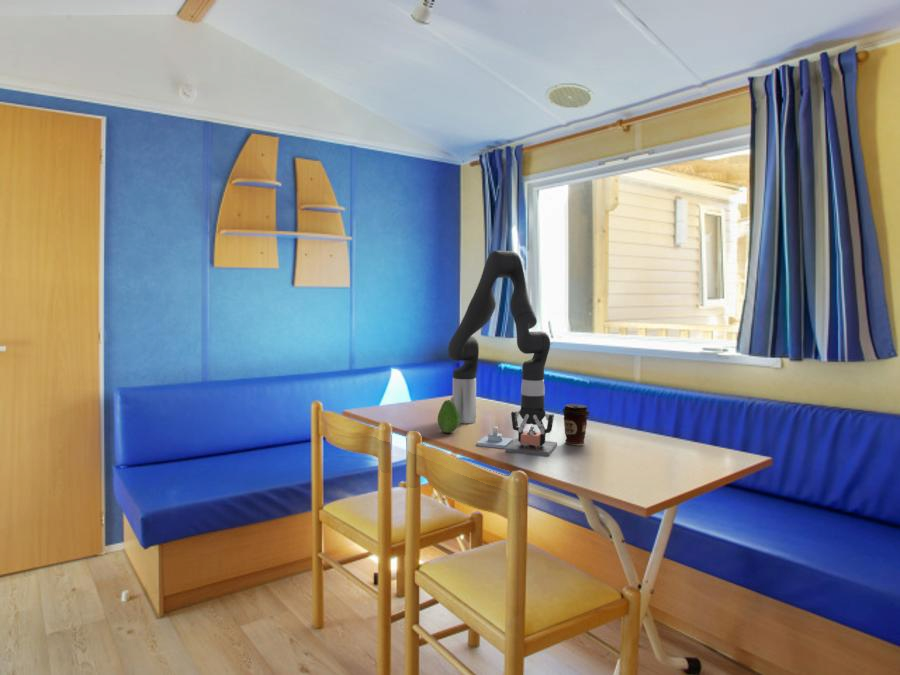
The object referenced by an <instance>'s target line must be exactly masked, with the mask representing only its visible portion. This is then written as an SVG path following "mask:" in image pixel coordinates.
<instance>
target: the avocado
mask: <svg viewBox="0 0 900 675" xmlns="http://www.w3.org/2000/svg"><path fill="white" fill-rule="evenodd" d="M459 422H460V416H459V413H458V410H457V408H456V406H455V404H454V403H453V402H452V401H451V399H446V400H444V402H443V403H442V404H441V407H440V410H439V412H438V416H437V424H438V427H439V428H440V430H441V431H442V432H443V433H446V434H448V433H449V434H450V433H453V432H454V431H456V430H457V429H458V427H459V425H460V423H459Z"/></svg>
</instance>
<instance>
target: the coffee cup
mask: <svg viewBox="0 0 900 675" xmlns="http://www.w3.org/2000/svg"><path fill="white" fill-rule="evenodd" d="M562 412H563V426H564V434H565V437H566V439H565V444H567V445H571V446H578V447H579V446H585V439H586V433H587V432H586V431H587V427H588V426H587V425H588V422H587V421H588V418H589V414H590V411H589V409H588V407H587V406H586V405H583V404H572V403H570V404H569V403H568V404H565V406H564V408H563V409H562Z"/></svg>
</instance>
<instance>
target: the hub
mask: <svg viewBox="0 0 900 675" xmlns="http://www.w3.org/2000/svg"><path fill="white" fill-rule="evenodd" d="M528 431H529V435H535V432H536V429H535V427H534V426H530V428H529V429H528ZM557 447H558V441H550V440H549V441H548V440H545V443H544V444H543V446H540V445H539V446H536V445H525V444H520V442H519V441H518V437H516V438H514V439H513V442H512V443H510V444H509V445H508V446H507V447H506V448H504V449H505V453H514V454H521V455H522V454H523V455H534V456H542V457H543V456H544V457H550V455H552V453H553V452H554V451H555V449H556V448H557Z"/></svg>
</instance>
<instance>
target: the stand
mask: <svg viewBox="0 0 900 675" xmlns="http://www.w3.org/2000/svg"><path fill="white" fill-rule="evenodd" d="M498 431H499V428H498V426H493V427H492V433H488V434H487V435H484V436H483V437H482V438H481V439H479V440H478V441H477V442H476V445H475V446H478V447H487V448H498V449H505V448H506V447H507V446H508V445H509V444H510V443H512V442H513V441H514V438H512V437H511V438H509V437H503V434H502V433H499V432H498Z"/></svg>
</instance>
